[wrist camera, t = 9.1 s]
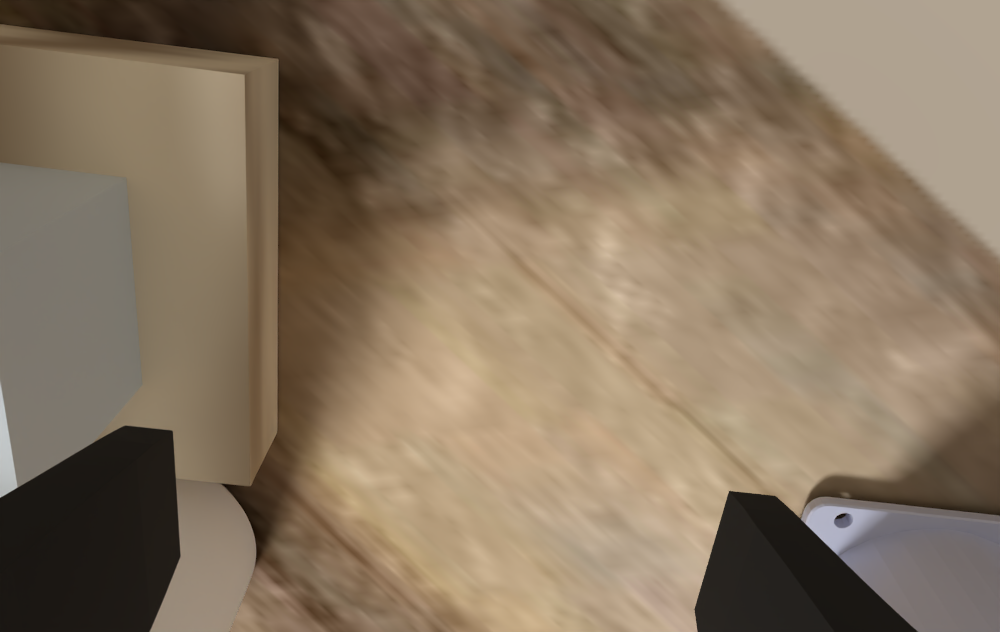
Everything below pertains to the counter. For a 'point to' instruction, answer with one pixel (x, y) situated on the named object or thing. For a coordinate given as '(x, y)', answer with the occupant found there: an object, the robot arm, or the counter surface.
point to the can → (208, 561)
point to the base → (173, 220)
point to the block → (62, 315)
